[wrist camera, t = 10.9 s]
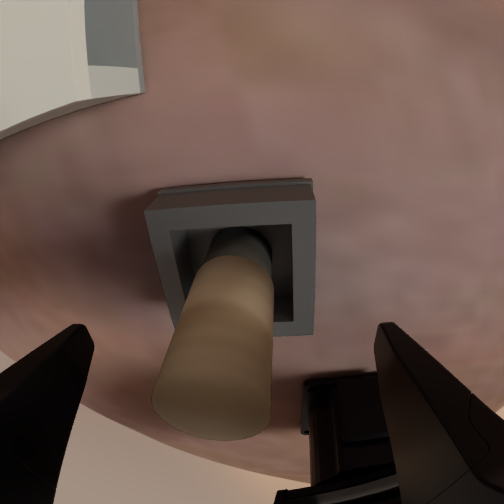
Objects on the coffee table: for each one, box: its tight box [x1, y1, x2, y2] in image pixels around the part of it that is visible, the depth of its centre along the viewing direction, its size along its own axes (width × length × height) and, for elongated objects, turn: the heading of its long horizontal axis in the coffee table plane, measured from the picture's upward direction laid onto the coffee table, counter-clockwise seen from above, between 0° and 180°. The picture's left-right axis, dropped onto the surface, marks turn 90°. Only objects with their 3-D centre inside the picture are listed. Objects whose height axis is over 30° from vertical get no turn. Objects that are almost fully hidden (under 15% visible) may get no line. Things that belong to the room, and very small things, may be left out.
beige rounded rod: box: [151, 226, 274, 441], centre depth 10 cm, size 3×3×8 cm
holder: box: [144, 178, 316, 337], centre depth 13 cm, size 6×6×2 cm
